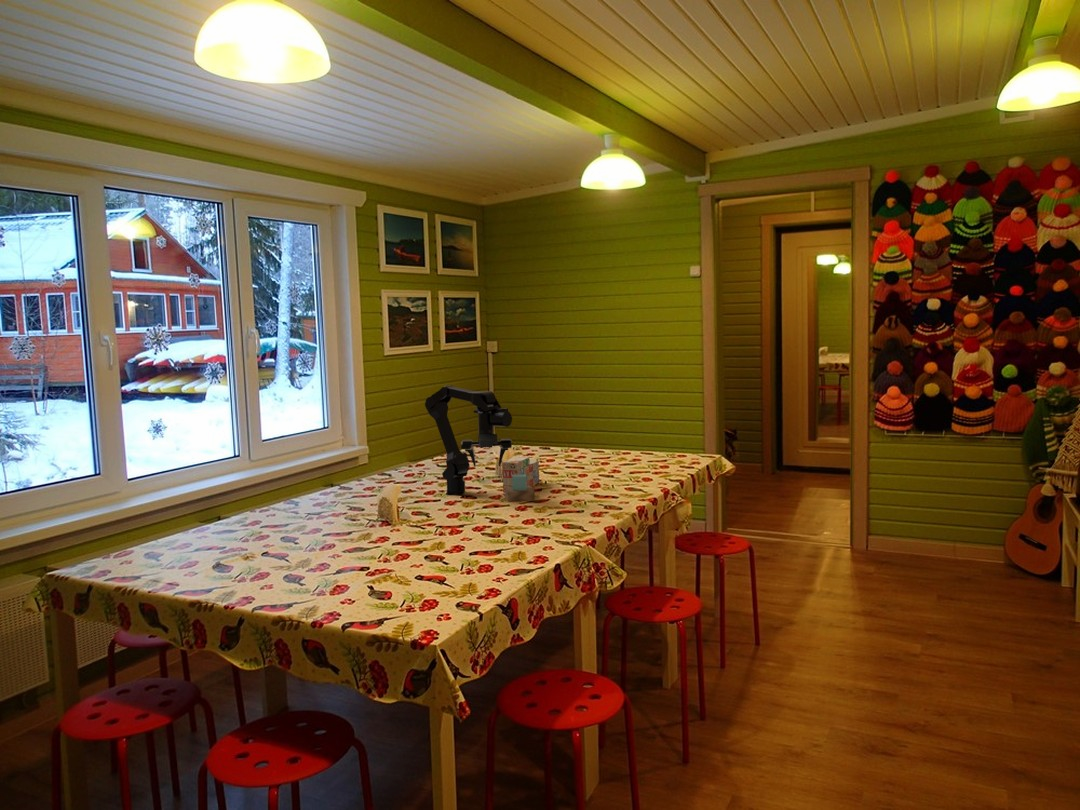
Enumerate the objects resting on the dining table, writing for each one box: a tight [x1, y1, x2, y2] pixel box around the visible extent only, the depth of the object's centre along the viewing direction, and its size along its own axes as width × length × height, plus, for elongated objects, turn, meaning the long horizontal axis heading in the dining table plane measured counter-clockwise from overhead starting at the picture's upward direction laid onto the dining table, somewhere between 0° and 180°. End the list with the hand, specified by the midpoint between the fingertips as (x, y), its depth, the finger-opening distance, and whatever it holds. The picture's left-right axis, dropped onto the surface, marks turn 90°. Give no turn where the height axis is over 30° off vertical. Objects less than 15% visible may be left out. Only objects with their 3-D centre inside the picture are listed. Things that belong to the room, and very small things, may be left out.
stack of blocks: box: [501, 456, 540, 494], centre depth 322 cm, size 21×6×12 cm, turn 157°
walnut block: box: [504, 485, 536, 503], centre depth 304 cm, size 10×10×4 cm
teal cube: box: [512, 475, 527, 491], centre depth 302 cm, size 5×5×5 cm
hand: (487, 466), depth 304 cm, fingers open, 9 cm apart
